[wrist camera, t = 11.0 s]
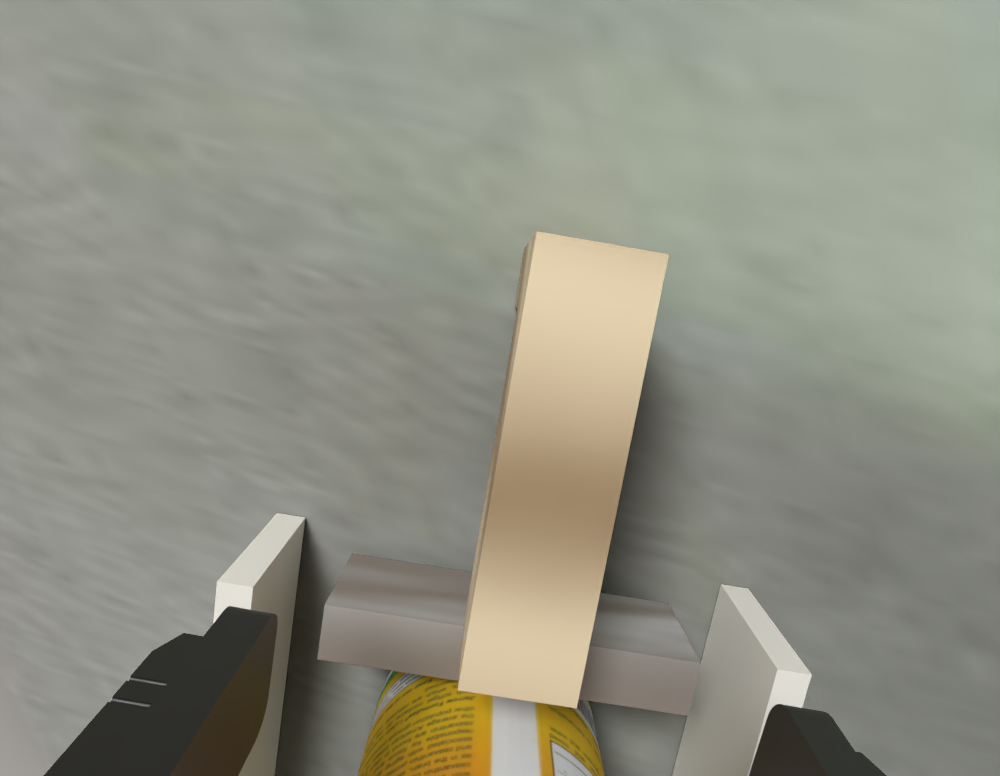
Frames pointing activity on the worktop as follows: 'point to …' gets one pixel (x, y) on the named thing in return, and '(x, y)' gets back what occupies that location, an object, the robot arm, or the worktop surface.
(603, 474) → the scraper
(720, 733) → the box
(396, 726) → the supplement bottle
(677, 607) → the worktop surface
